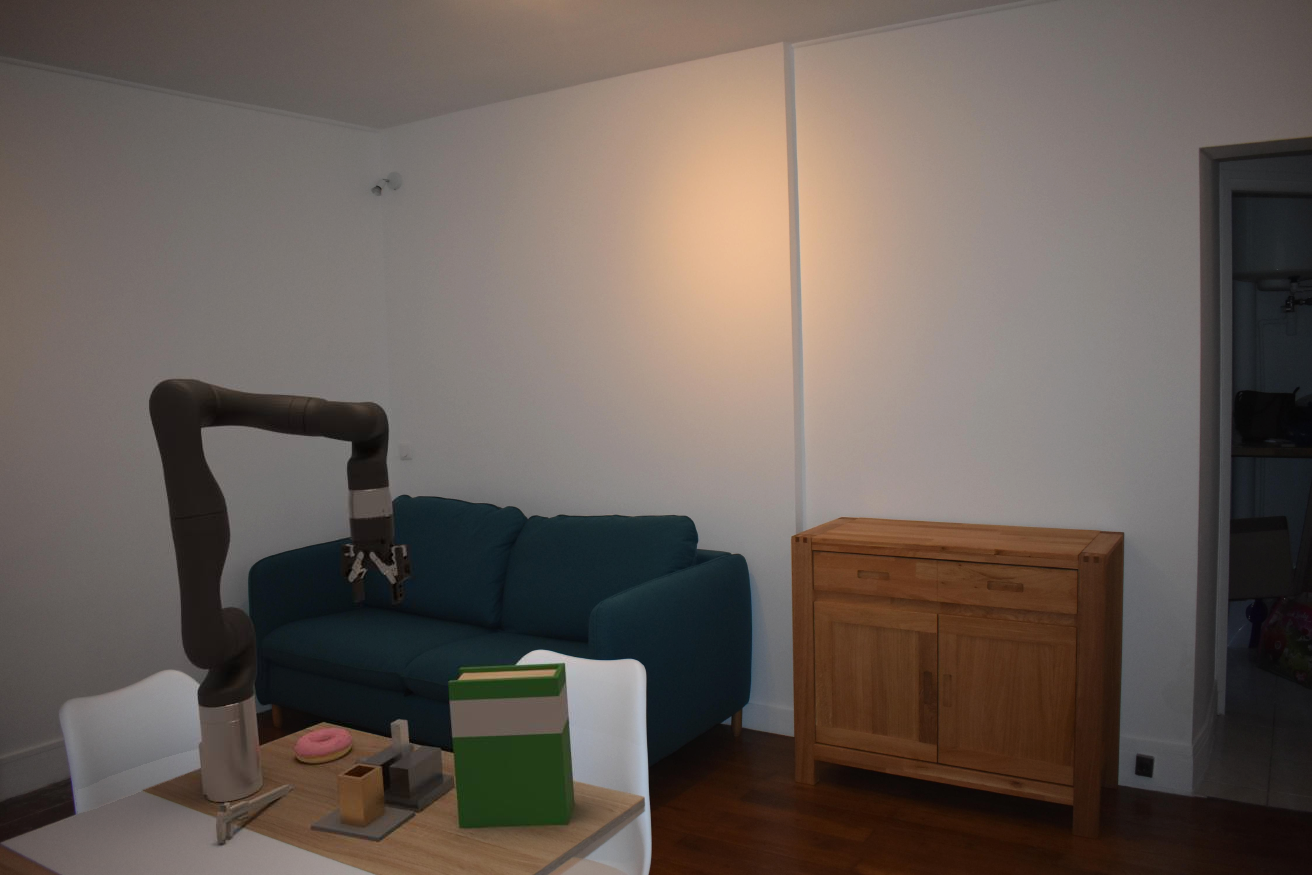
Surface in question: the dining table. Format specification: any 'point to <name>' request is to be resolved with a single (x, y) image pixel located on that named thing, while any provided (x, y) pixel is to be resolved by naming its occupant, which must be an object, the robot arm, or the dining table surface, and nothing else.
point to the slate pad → (370, 832)
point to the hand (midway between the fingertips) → (378, 601)
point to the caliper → (243, 812)
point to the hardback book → (512, 746)
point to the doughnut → (323, 745)
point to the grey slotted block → (410, 772)
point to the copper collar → (361, 795)
